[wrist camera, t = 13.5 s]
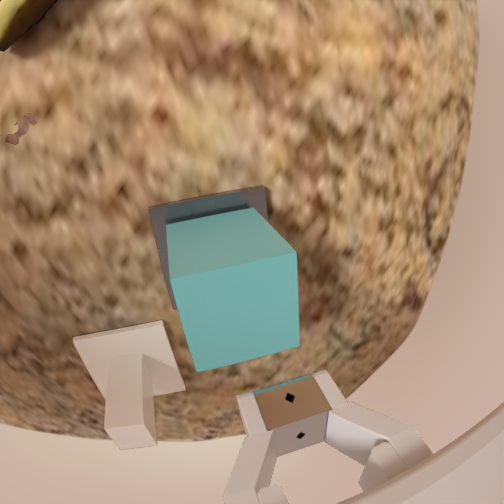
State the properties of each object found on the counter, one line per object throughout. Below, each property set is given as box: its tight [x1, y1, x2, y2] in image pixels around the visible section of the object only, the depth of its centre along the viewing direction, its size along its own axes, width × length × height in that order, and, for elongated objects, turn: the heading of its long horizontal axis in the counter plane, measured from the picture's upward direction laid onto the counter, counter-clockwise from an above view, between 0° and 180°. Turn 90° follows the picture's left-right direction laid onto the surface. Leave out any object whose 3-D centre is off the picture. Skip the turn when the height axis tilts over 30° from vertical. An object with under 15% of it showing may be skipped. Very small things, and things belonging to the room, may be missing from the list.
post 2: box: [149, 185, 268, 309], centre depth 17 cm, size 7×7×7 cm
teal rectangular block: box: [166, 208, 300, 372], centre depth 17 cm, size 5×5×7 cm
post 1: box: [73, 320, 186, 450], centre depth 19 cm, size 7×7×7 cm
